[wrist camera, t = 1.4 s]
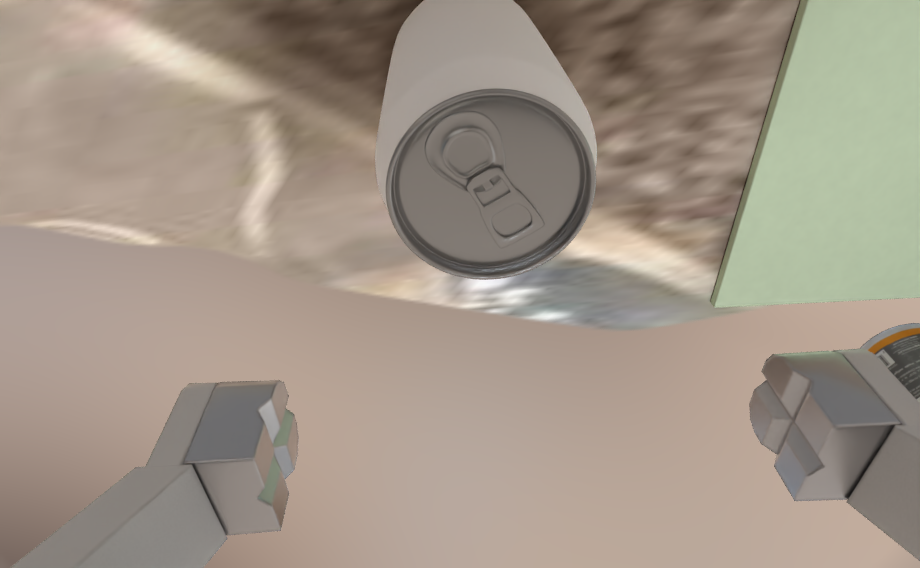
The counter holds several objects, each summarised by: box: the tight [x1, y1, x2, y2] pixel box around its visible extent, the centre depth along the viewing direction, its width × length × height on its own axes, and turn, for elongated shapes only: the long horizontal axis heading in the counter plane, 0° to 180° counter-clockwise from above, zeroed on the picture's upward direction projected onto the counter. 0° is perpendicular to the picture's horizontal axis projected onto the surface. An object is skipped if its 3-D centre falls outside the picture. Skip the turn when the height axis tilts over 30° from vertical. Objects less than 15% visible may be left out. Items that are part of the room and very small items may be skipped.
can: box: [375, 0, 597, 280], centre depth 20 cm, size 6×6×12 cm
